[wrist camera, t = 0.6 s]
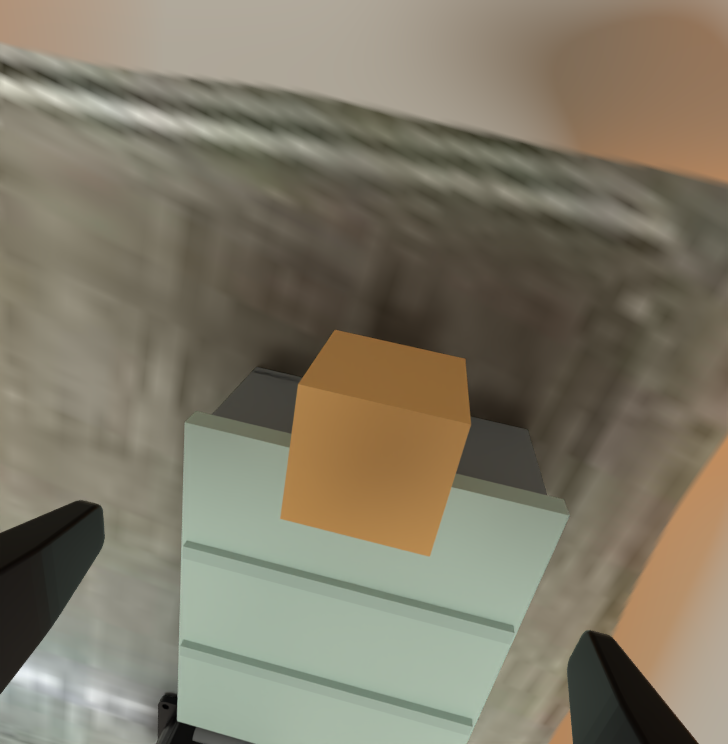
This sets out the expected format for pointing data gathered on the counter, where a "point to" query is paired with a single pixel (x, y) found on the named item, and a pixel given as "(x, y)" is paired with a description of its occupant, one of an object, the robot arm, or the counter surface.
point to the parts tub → (478, 460)
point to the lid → (352, 559)
